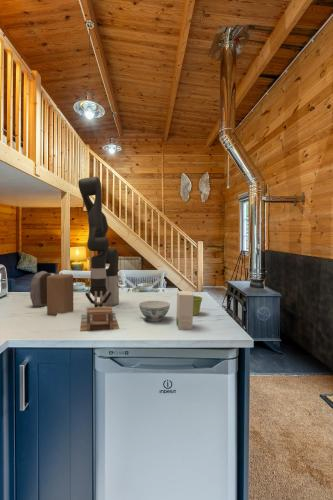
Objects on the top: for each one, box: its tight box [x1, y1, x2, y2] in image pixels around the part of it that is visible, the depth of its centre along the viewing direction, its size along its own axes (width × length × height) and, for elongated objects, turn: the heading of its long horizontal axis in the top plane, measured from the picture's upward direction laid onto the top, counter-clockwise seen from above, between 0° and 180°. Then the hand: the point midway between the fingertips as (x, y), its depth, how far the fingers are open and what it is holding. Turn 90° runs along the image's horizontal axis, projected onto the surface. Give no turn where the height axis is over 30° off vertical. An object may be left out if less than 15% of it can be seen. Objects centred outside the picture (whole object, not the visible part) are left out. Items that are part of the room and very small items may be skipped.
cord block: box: [92, 301, 106, 321], centre depth 146 cm, size 18×6×5 cm, turn 14°
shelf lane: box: [79, 306, 120, 332], centre depth 137 cm, size 26×16×9 cm, turn 14°
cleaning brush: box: [29, 270, 52, 307], centre depth 174 cm, size 15×8×20 cm, turn 160°
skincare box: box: [175, 290, 195, 330], centre depth 134 cm, size 8×7×16 cm
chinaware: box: [138, 300, 171, 322], centre depth 146 cm, size 15×15×8 cm
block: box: [46, 273, 74, 316], centre depth 156 cm, size 10×10×20 cm
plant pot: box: [193, 295, 203, 316], centre depth 157 cm, size 9×9×9 cm
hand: (98, 311), depth 150 cm, fingers closed on cord block, 1 cm apart
